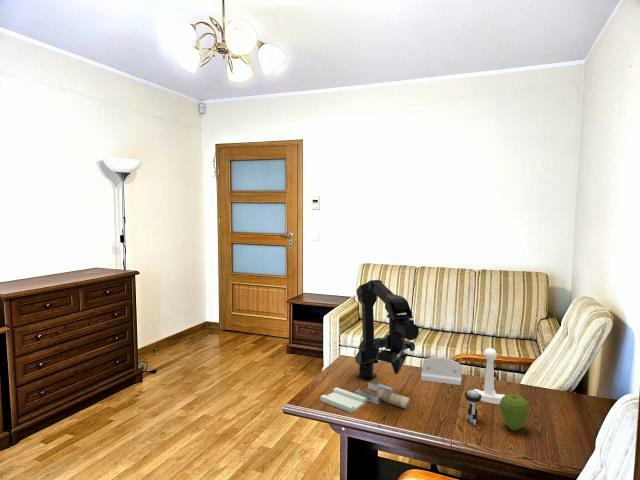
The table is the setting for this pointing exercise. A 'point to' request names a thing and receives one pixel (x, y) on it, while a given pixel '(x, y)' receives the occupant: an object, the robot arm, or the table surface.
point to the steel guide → (370, 396)
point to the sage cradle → (344, 400)
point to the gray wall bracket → (441, 371)
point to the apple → (514, 411)
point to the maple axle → (393, 398)
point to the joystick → (490, 379)
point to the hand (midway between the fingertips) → (396, 373)
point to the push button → (473, 404)
